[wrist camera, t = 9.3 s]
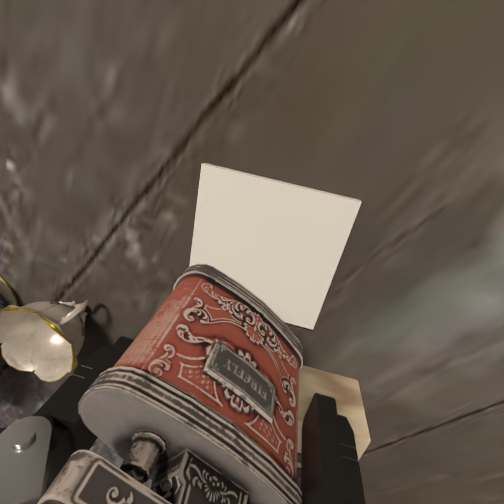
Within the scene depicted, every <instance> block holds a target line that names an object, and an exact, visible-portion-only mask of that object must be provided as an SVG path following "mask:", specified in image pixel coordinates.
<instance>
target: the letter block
mask: <svg viewBox="0 0 504 504" xmlns="http://www.w3.org/2000/svg"><path fill="white" fill-rule="evenodd" d="M315 393H319V394H323V395H326V396H330V397H333V398H335V400H336V406H337V414H338V415H342V416H345V417H347V419H348V421H349V423H350V425H351V427H352V429H353V431H354V436H355V443H356V450H357V455H358V461H359V459H360V457H361V456H362V454H363V453H364V451H365V449H366V448H367V446H368V445H369V443H370V442H371V440H370V435H369V431H368V426H367V421H366V417H365V412H364V407H363V402H362V398H361V393H360V388H359V384H358V380H354V379H351V378H347V377H343V376H340V375H336V374H333V373H329V372H325V371H322V370H318V369H315V368H311V367H307V366H304V365H303V366H302V368H301V370H300V372H299V393H298V442H297V467H299V468H301V448H302V424H303V419H304V416H305V414H306V411H307V409H308V407H309V405H310V403H311V400H312V398H313V396H314V394H315Z"/></svg>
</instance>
